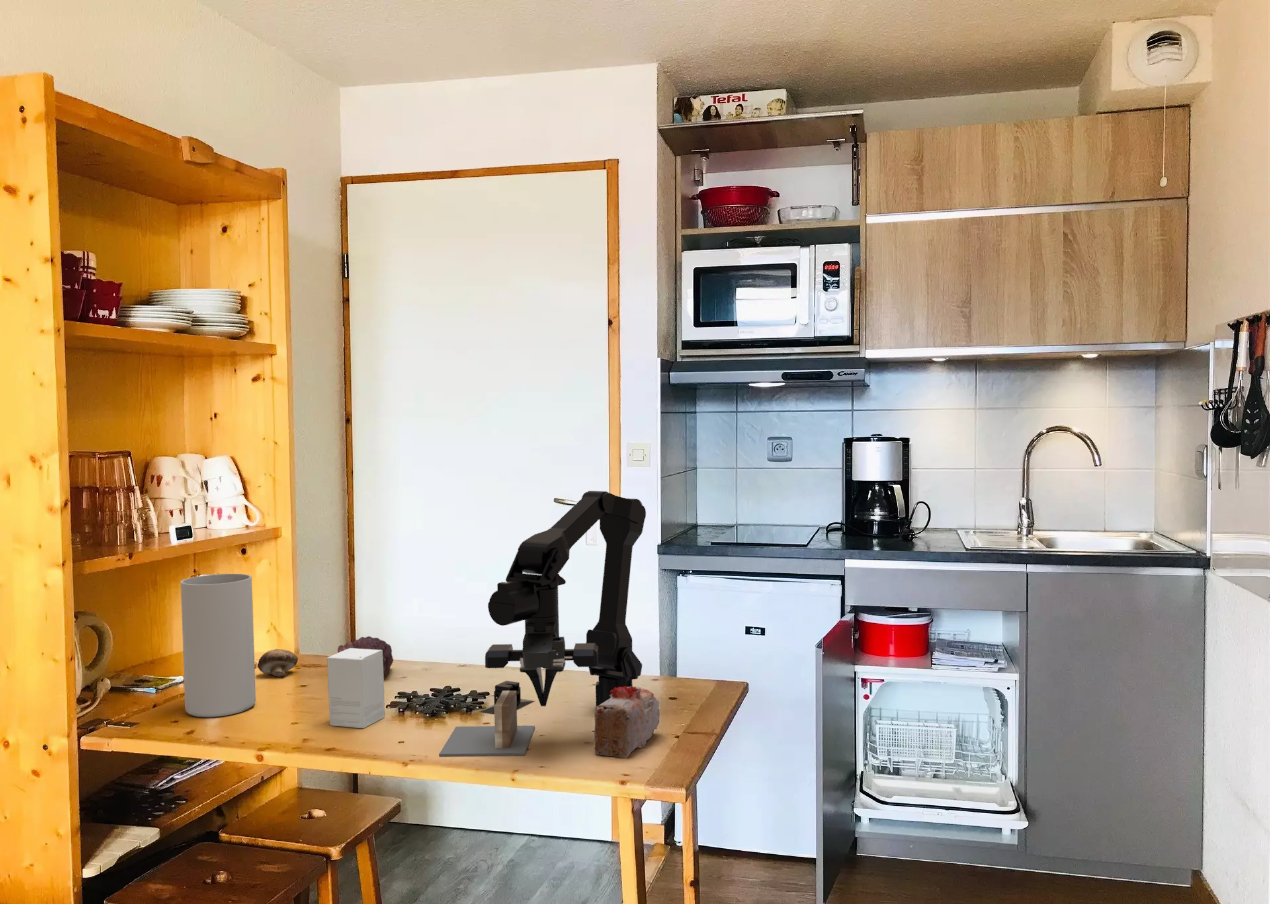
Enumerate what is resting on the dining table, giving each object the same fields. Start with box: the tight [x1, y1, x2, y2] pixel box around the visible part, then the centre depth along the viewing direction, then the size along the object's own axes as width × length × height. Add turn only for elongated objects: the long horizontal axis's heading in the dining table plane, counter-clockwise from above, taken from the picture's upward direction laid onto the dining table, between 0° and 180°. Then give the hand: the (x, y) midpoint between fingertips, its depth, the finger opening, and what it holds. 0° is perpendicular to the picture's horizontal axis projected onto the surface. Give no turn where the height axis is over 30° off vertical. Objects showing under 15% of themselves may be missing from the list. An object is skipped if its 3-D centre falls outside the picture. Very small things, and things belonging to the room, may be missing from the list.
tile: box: [493, 691, 518, 748], centre depth 168 cm, size 2×9×7 cm, turn 179°
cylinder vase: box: [180, 573, 257, 718], centre depth 190 cm, size 12×12×25 cm
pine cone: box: [337, 635, 394, 675], centre depth 210 cm, size 18×10×10 cm
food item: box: [593, 685, 661, 759], centre depth 166 cm, size 14×8×10 cm, turn 160°
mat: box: [438, 725, 536, 757], centre depth 168 cm, size 14×14×1 cm
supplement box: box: [326, 648, 386, 729], centre depth 181 cm, size 7×7×13 cm
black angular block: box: [478, 680, 536, 715], centre depth 189 cm, size 13×8×5 cm, turn 153°
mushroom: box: [257, 648, 299, 678], centre depth 214 cm, size 8×8×6 cm
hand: (543, 705), depth 168 cm, fingers closed
